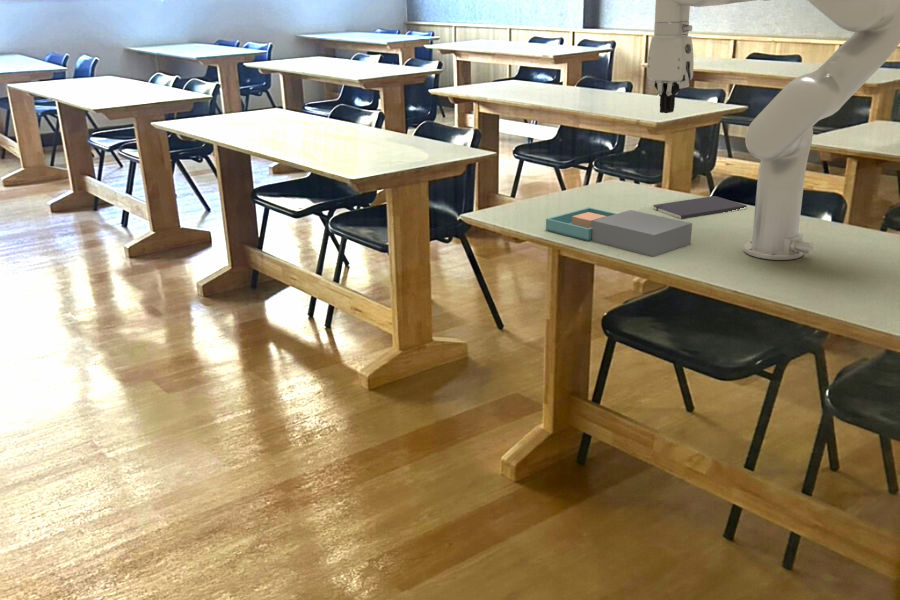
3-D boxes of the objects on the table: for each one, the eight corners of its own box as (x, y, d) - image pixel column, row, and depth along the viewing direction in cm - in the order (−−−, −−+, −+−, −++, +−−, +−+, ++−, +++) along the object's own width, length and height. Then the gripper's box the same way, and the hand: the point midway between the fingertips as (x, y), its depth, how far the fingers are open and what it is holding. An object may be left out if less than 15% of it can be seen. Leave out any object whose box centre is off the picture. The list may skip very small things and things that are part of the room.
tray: (631, 228, 216) (631, 216, 215) (588, 241, 207) (588, 229, 206) (588, 218, 226) (589, 207, 225) (545, 230, 217) (546, 218, 216)
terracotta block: (588, 212, 219) (588, 223, 220) (572, 216, 215) (571, 227, 216) (606, 216, 215) (606, 227, 216) (590, 220, 211) (590, 232, 212)
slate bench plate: (690, 243, 202) (692, 223, 201) (653, 256, 194) (654, 235, 192) (629, 229, 215) (630, 209, 214) (592, 240, 207) (592, 220, 205)
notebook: (681, 221, 223) (746, 210, 231) (681, 215, 223) (746, 205, 231) (651, 210, 234) (714, 201, 242) (651, 205, 234) (715, 195, 242)
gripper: (709, 29, 193) (703, 113, 199) (654, 28, 203) (650, 107, 210) (689, 31, 188) (683, 117, 194) (634, 30, 199) (631, 111, 205)
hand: (666, 112), depth 202 cm, fingers closed
